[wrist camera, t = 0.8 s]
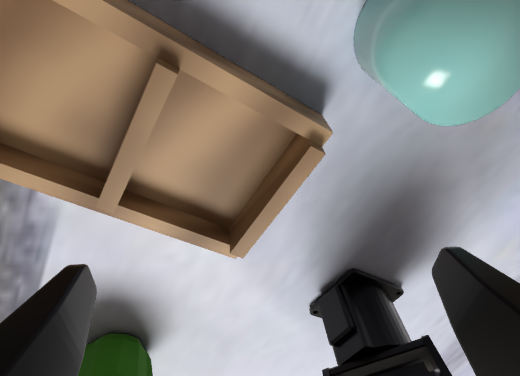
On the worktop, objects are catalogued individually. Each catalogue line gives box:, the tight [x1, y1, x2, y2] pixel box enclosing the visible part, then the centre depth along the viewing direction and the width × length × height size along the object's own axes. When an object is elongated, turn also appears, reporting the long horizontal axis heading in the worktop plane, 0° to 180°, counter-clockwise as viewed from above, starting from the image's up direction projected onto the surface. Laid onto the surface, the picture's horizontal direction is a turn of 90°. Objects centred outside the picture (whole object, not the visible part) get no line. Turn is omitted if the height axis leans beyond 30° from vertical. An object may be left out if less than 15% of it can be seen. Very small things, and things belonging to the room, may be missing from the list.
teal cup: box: [354, 0, 520, 126], centre depth 15 cm, size 6×6×6 cm
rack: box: [0, 0, 333, 259], centre depth 18 cm, size 18×11×3 cm, turn 58°
